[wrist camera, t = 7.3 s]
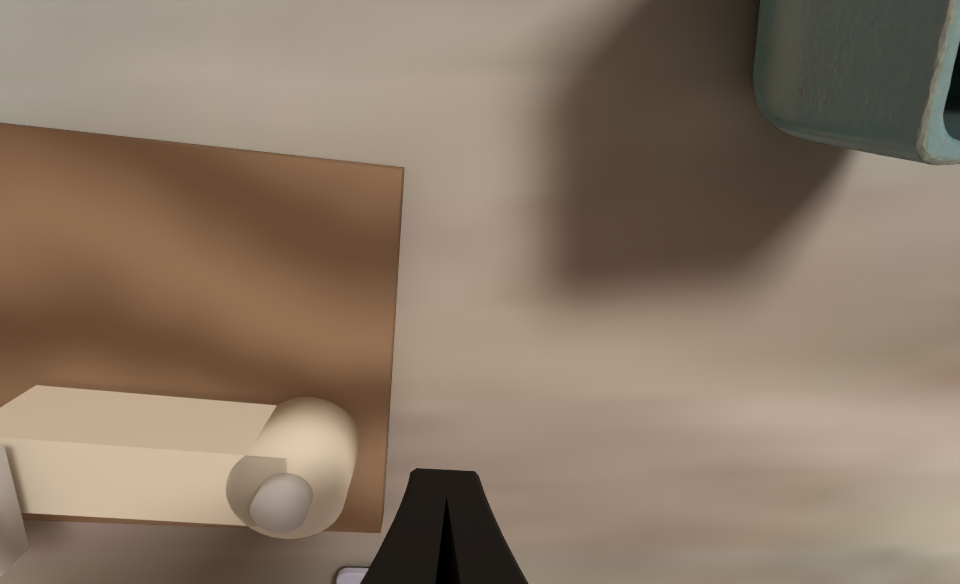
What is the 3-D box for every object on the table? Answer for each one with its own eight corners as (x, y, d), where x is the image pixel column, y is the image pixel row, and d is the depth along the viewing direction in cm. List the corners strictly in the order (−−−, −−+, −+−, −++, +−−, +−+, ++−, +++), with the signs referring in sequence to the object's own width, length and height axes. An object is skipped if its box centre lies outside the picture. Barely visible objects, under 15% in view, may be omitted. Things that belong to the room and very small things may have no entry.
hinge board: (383, 515, 22) (360, 653, 16) (-36, 499, 21) (-228, 646, 15) (404, 167, 17) (381, 188, 11) (-152, 105, 15) (-518, 92, 10)
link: (363, 401, 19) (343, 466, 15) (357, 483, 20) (337, 561, 16) (34, 373, 18) (-73, 436, 14) (50, 462, 19) (-45, 541, 15)
